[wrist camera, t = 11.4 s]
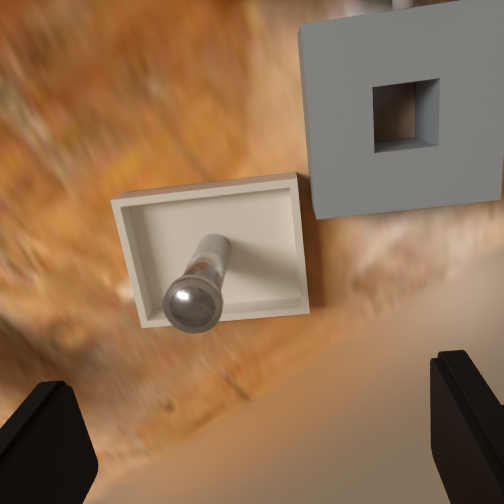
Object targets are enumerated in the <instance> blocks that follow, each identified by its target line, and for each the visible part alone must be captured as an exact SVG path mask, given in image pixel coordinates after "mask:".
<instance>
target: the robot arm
mask: <svg viewBox="0 0 504 504" xmlns="http://www.w3.org/2000/svg"><path fill="white" fill-rule="evenodd" d="M430 403H431V404H430V406H431V450H432V455H433V458H434V461H435V464H436V467H437V469H438V472H439V474H440V477H441V480H442V482H443V485H444V487H445V490H446V493H447V495H448V498H449V500H450V503H451V504H504V405H501V404H500V402H499V401H498V399H497V398H496V397H495V395H494V394H493V392H492V390H491V389H490V387H489V386H488V384H487V383H486V381H485V380H484V378H483V377H482V375H481V374H480V372H479V371H478V369H477V368H476V366H475V365H474V363H473V362H472V360H471V359H470V357H469V356H468V354H467V353H466V352H465V351H464V350H455V351H443V352H439V353H438V358H432V359H431V361H430ZM97 472H98V460H97V457H96V454H95V451H94V448H93V446H92V443H91V440H90V437H89V434H88V431H87V428H86V426H85V423H84V420H83V417H82V414H81V411H80V408H79V406H78V403H77V400H76V397H75V394H74V391H73V389H72V387H71V386H67V384H66V383H65V382H64V381H48V382H41V383H39V384H38V385H37V386H36V387H35V388H34V390H33V391H32V392H31V393H30V394H29V396H28V397H27V398H26V399H25V400H24V401H23V403H22V404H21V405H20V406H19V407H18V408H17V410H16V411H15V412H14V413H13V414H12V416H11V417H10V418H9V419H8V420H7V421H6V423H5V424H4V425H3V426H2V427H1V429H0V504H83V502H84V500H85V498H86V496H87V494H88V492H89V490H90V488H91V486H92V484H93V482H94V480H95V478H96V475H97Z"/></svg>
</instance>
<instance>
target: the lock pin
mask: <svg viewBox="0 0 504 504" xmlns="http://www.w3.org/2000/svg"><path fill="white" fill-rule="evenodd" d="M231 253H232V248H231V245H230V243H229V241H228V240H227V239H226V238H225V237H223V236H221V235H219V234H209V235H206V236H205V237H203V238H202V239H201V240H200V242H199V244H198V246H197V248H196V250H195V252H194V254H193V256H192V258H191V260H190V261H189V263H188V265H187V267H186V269H185V271H184V273H183V275H182V277H180V278H178V279H176V280H175V281H174V282H173V283H172V284H171V285H170V287H169V288H168V290H167V292H166V294H165V296H164V299H163V310H164V314H165V316H166V318H167V319H168V321H169V322H170V323H171V324H172V325H173V326H174V327H176V328H177V329H179V330H181V331H184V332H187V333H202V332H205V331H208V330H210V329H211V328H213V327H214V326H215V325H216V324H217V323H218V321H219V319H220V317H221V314H222V310H223V304H224V301H223V295H222V293H221V289H222V286H223V282H224V278H225V275H226V271H227V268H228V264H229V261H230V257H231Z"/></svg>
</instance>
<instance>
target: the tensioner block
mask: <svg viewBox="0 0 504 504" xmlns="http://www.w3.org/2000/svg"><path fill="white" fill-rule="evenodd" d="M297 36H298V48H299V59H300V71H301V83H302V95H303V107H304V119H305V131H306V143H307V155H308V167H309V179H310V191H311V202H312V206H313V209H314V212H315V216H316V219H317V220H319V219H328V218H338V217H347V216H357V215H366V214H375V213H385V212H394V211H403V210H413V209H422V208H431V207H441V206H450V205H459V204H469V203H478V202H487V201H497V200H501V190H502V175H503V161H504V0H459V1H452V2H445V3H439V4H432V5H426V6H419V7H414V0H392V11H386V12H380V13H373V14H366V15H360V16H353V17H347V18H340V19H333V20H327V21H320V22H314V23H307V24H301V25H300V28H299V31H298V34H297ZM407 82H415V138H408V139H400V140H392V141H384V142H376V143H374V124H373V92H372V87H378V86H385V85H393V84H400V83H407Z"/></svg>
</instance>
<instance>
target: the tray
mask: <svg viewBox="0 0 504 504" xmlns="http://www.w3.org/2000/svg"><path fill="white" fill-rule="evenodd" d="M111 204H112V208H113V212H114V216H115V220H116V224H117V228H118V232H119V237H120V241H121V245H122V249H123V253H124V257H125V261H126V265H127V269H128V273H129V277H130V281H131V285H132V289H133V294H134V298H135V302H136V306H137V310H138V314H139V318H140V322H141V326H142V328H147V327H159V326H170V325H172V324H171V323H170V322H169V321H168V319H167V318H166V316H165V314H164V310H163V299H164V296H165V294H166V292H167V290H168V288H169V287H170V285H171V284H172V283H173V282H174V281H175V280H176V279H178V278H180V277H182V275H183V273H184V271H185V269H186V267H187V265H188V263H189V261H190V260H191V258H192V256H193V254H194V252H195V250H196V248H197V246H198V244H199V242H200V240H201V239H202V238H203V237H205V236H206V235H209V234H219V235H221V236H223V237H225V238H226V239H227V240H228V241H229V243H230V245H231V248H232V253H231V257H230V261H229V264H228V268H227V271H226V275H225V278H224V282H223V286H222V289H221V293H222V295H223V301H224V304H223V310H222V314H221V317H220V319H219V321H229V320H240V319H252V318H263V317H275V316H287V315H298V314H310V310H309V300H308V289H307V278H306V268H305V257H304V246H303V236H302V225H301V214H300V204H299V193H298V182H297V175H296V172H293V173H284V174H276V175H267V176H259V177H251V178H242V179H234V180H225V181H217V182H208V183H200V184H191V185H183V186H175V187H166V188H158V189H149V190H141V191H132V192H124V193H121V194H119V195H118V196H116V197H115V198H113V199H111Z"/></svg>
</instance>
